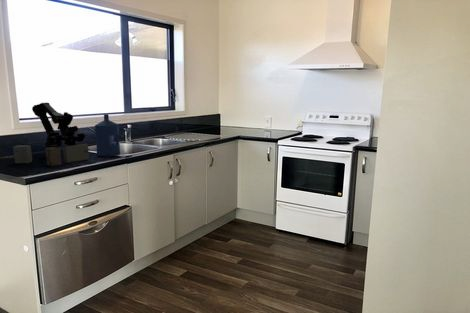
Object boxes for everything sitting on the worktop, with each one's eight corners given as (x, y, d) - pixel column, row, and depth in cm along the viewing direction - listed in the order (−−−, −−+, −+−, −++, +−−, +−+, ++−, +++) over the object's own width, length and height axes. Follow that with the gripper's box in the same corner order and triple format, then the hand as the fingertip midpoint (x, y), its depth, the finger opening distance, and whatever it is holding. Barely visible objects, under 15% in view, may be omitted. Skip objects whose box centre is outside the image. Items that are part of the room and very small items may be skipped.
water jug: (94, 156, 244) (91, 115, 239) (99, 152, 260) (96, 113, 254) (118, 156, 247) (116, 115, 242) (122, 152, 262) (119, 113, 257)
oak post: (47, 164, 221) (45, 148, 219) (56, 162, 225) (54, 147, 223) (52, 165, 216) (50, 149, 215) (61, 164, 221) (60, 148, 219)
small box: (32, 161, 230) (30, 145, 228) (27, 163, 224) (26, 146, 222) (19, 161, 229) (17, 145, 227) (14, 163, 224) (12, 146, 222)
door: (65, 163, 223) (64, 147, 221) (63, 162, 224) (62, 146, 222) (90, 159, 234) (88, 144, 233) (87, 158, 236) (86, 143, 234)
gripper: (53, 123, 224) (63, 142, 219) (82, 120, 238) (92, 138, 233) (49, 134, 230) (59, 153, 226) (77, 131, 245) (87, 149, 240)
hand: (75, 148), depth 231 cm, fingers closed
